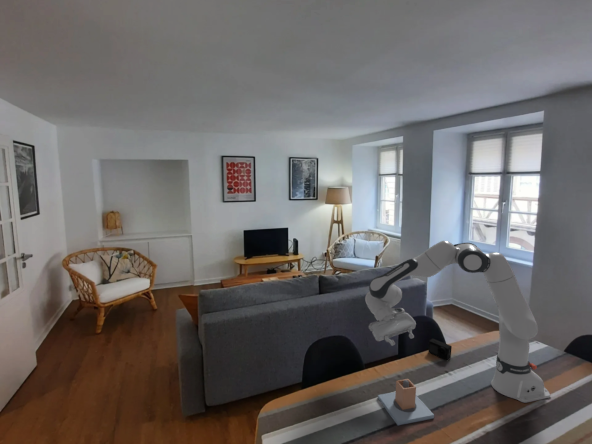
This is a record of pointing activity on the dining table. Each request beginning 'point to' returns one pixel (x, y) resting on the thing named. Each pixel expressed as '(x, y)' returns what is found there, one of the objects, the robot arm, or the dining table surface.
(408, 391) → the sleeve
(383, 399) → the post board
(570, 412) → the dining table surface
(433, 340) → the digital camera
